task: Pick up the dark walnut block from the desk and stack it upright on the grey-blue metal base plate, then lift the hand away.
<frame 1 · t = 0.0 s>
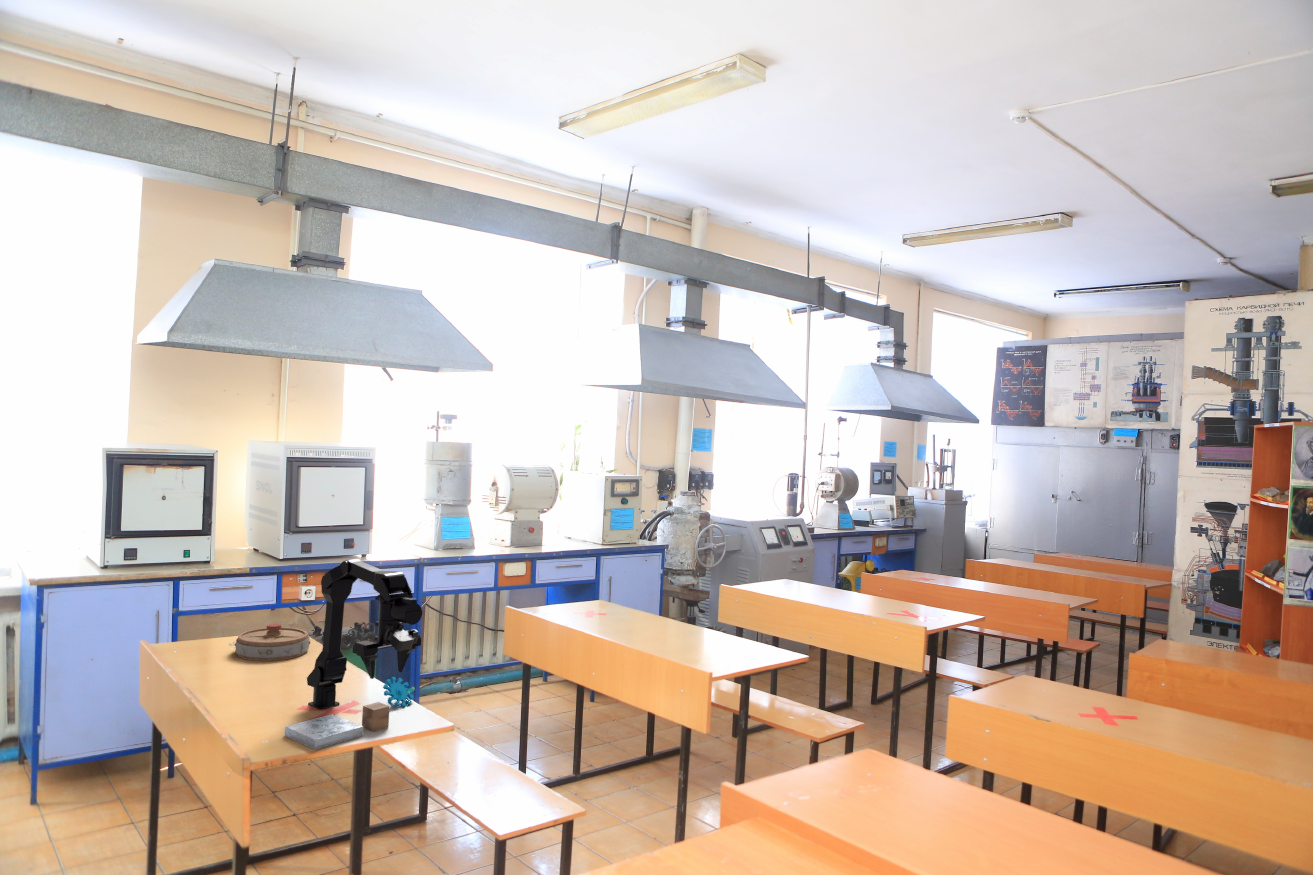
hand: (386, 675, 231), 15 cm above the table, fingers open, 9 cm apart
blue spiky blob: (398, 704, 252), on the table
base plate: (323, 735, 223), on the table
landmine: (272, 653, 301), on the table
walnut block: (375, 727, 232), on the table
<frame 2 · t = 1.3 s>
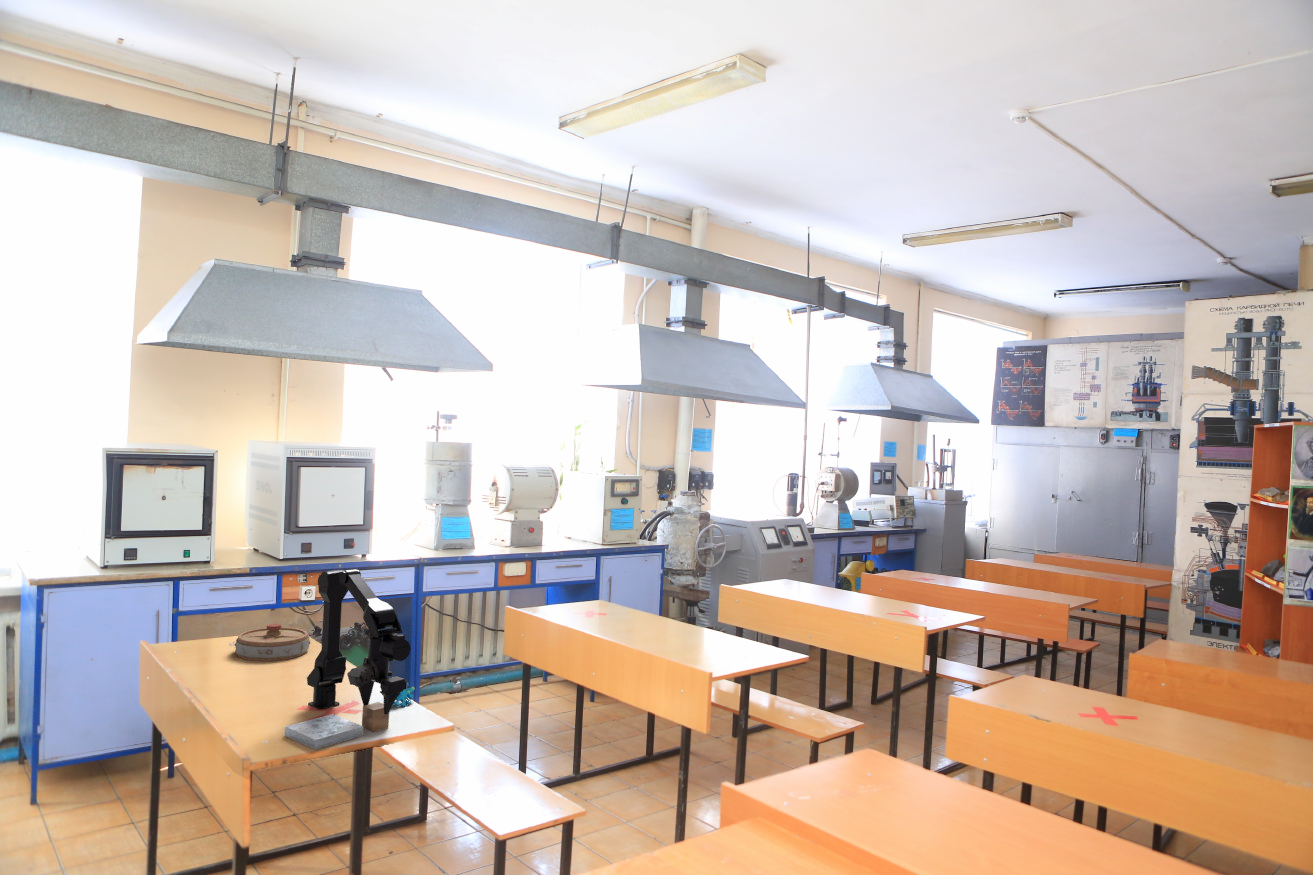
hand: (375, 710, 232), 5 cm above the table, fingers open, 9 cm apart
nothing on the table moved.
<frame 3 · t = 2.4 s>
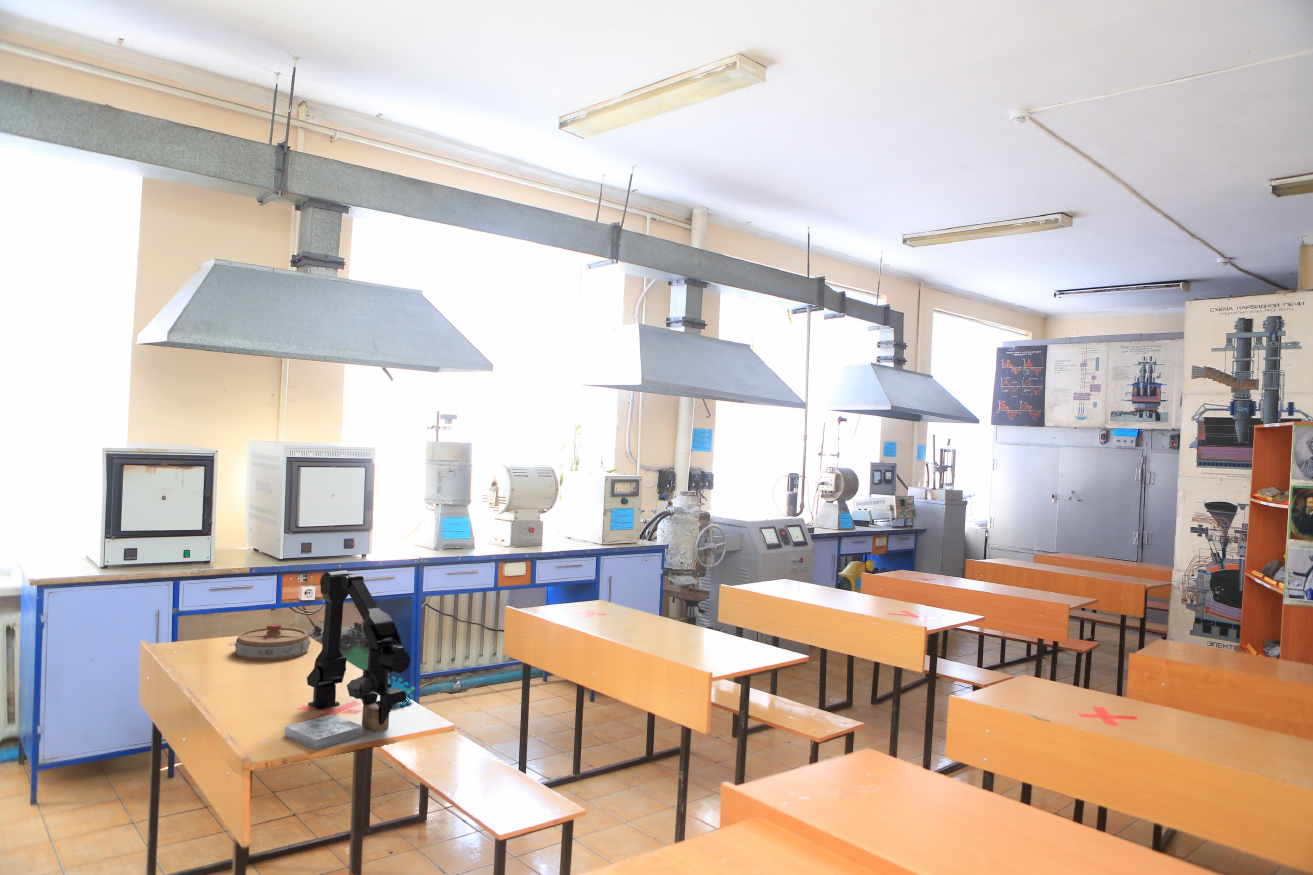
hand: (375, 721, 232), 2 cm above the table, fingers closed on walnut block, 5 cm apart
walnut block: (375, 727, 232), on the table, touching gripper
everything else where it was.
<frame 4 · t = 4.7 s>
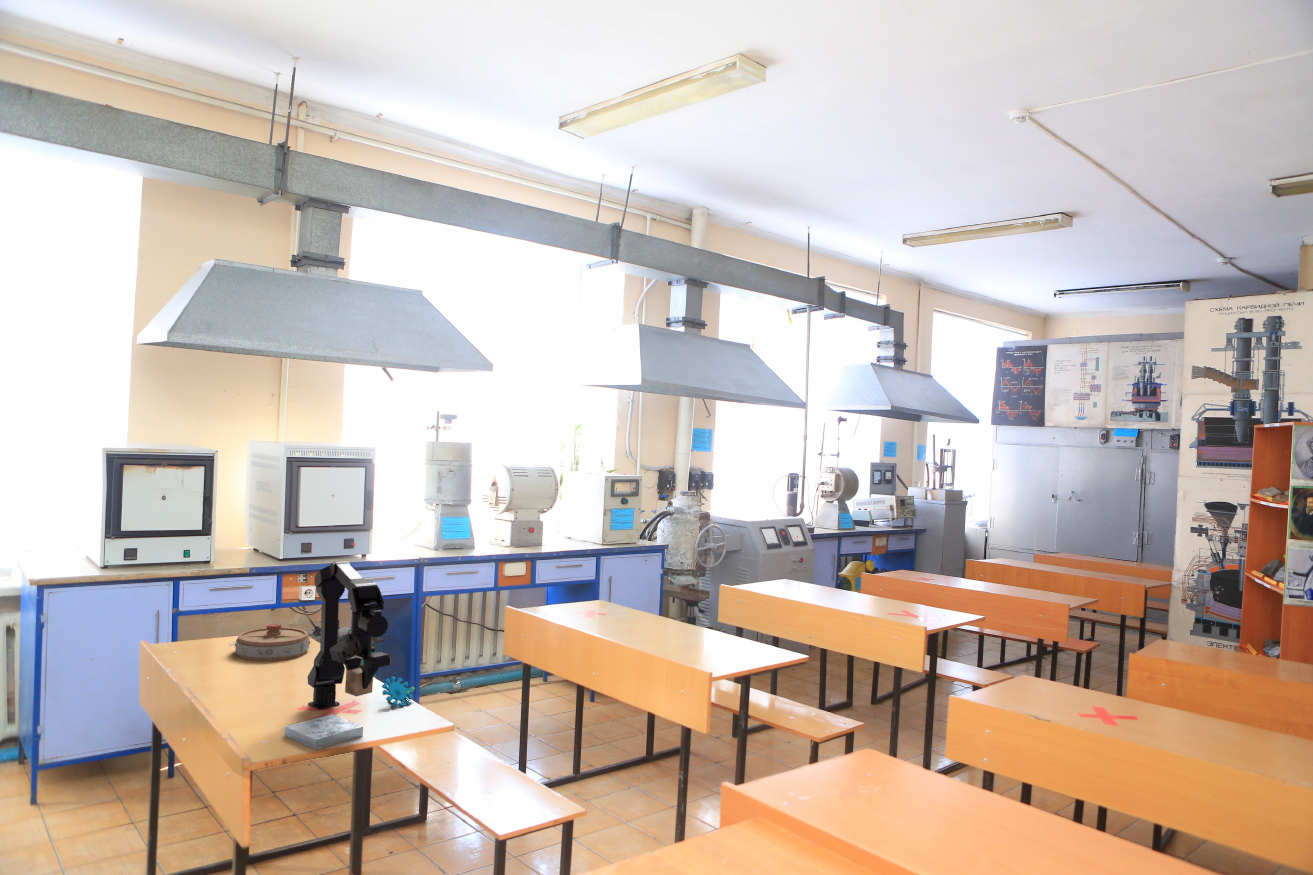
hand: (358, 686, 229), 12 cm above the table, fingers closed on walnut block, 5 cm apart
walnut block: (358, 692, 229), point 10 cm above the table, touching gripper
everything else where it was.
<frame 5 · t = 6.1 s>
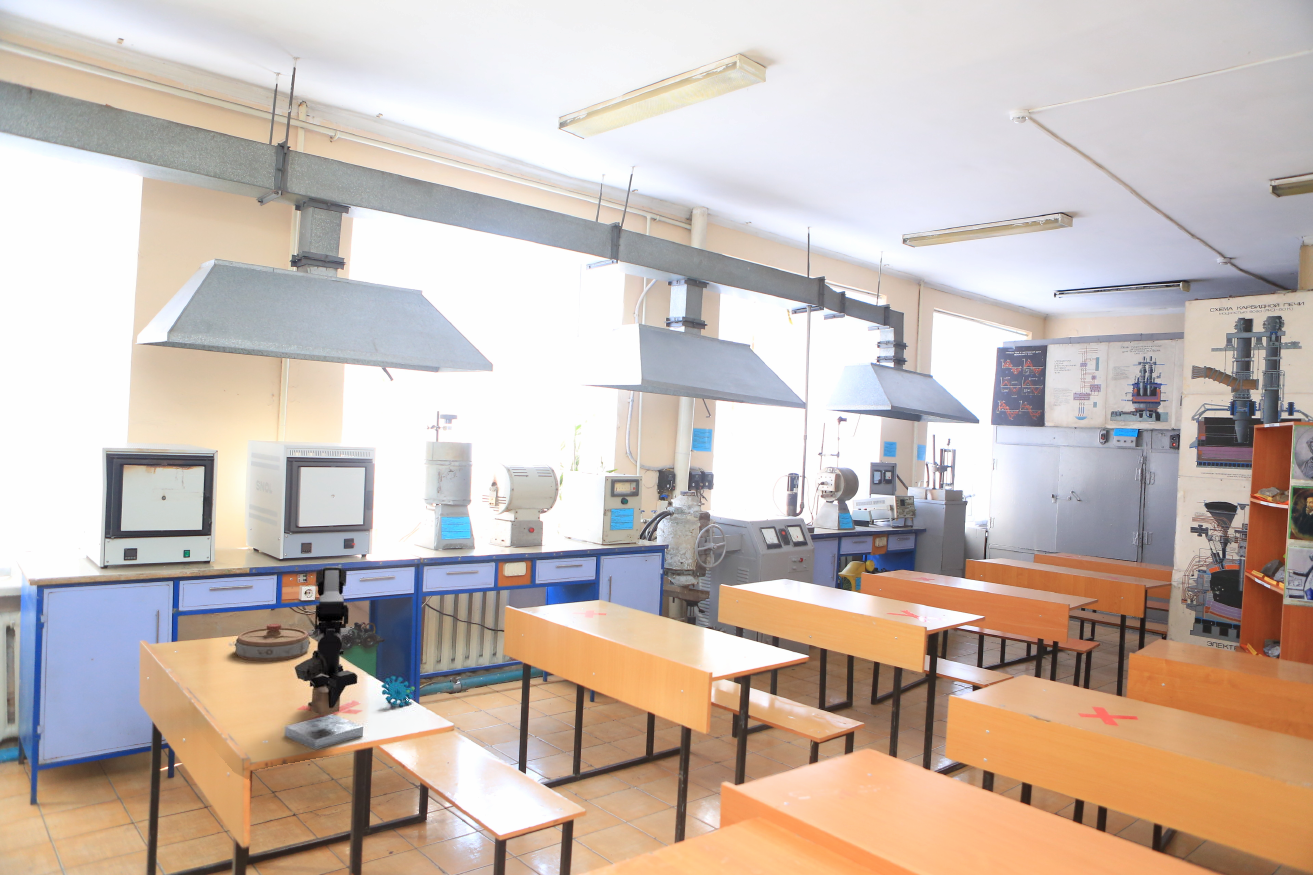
hand: (325, 705, 224), 8 cm above the table, fingers closed on walnut block, 5 cm apart
walnut block: (325, 711, 224), point 6 cm above the table, touching gripper
everything else where it was.
when the fingers open (5 cm above the table, at t = 7.0 s): walnut block stays where it is, resting on base plate.
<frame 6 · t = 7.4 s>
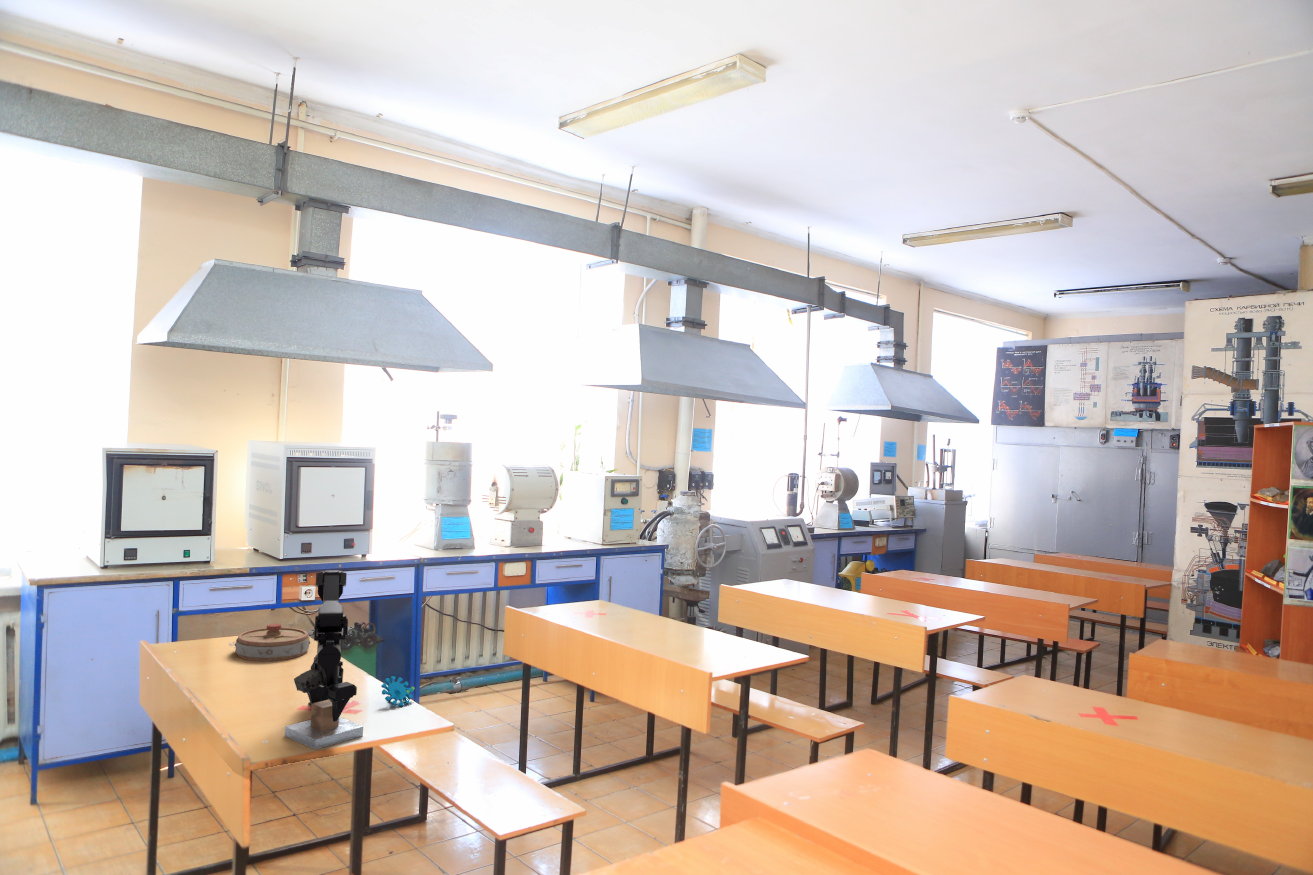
hand: (325, 716, 223), 5 cm above the table, fingers open, 9 cm apart
walnut block: (324, 726, 223), point 2 cm above the table, touching base plate
everything else where it was.
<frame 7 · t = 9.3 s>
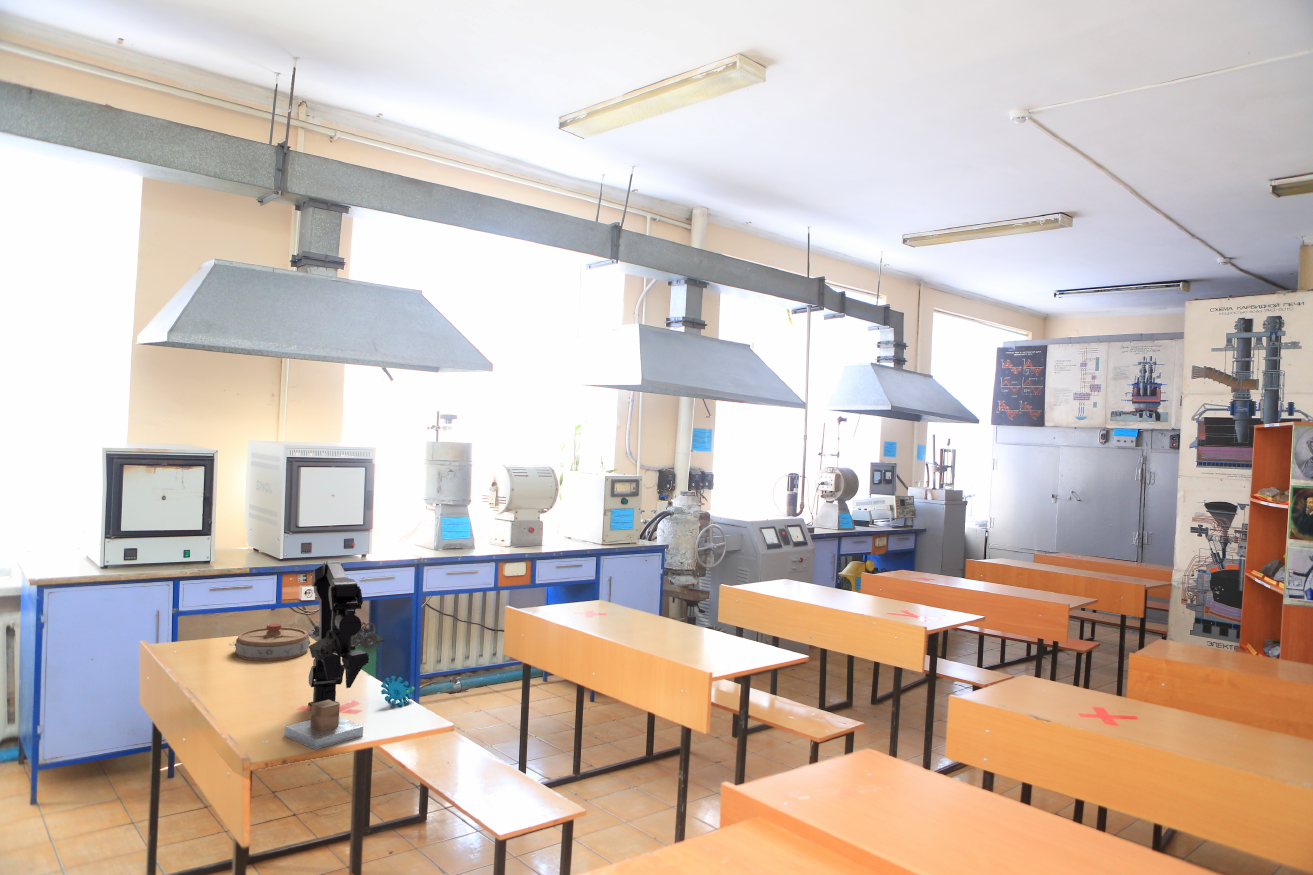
hand: (338, 683, 231), 12 cm above the table, fingers open, 9 cm apart
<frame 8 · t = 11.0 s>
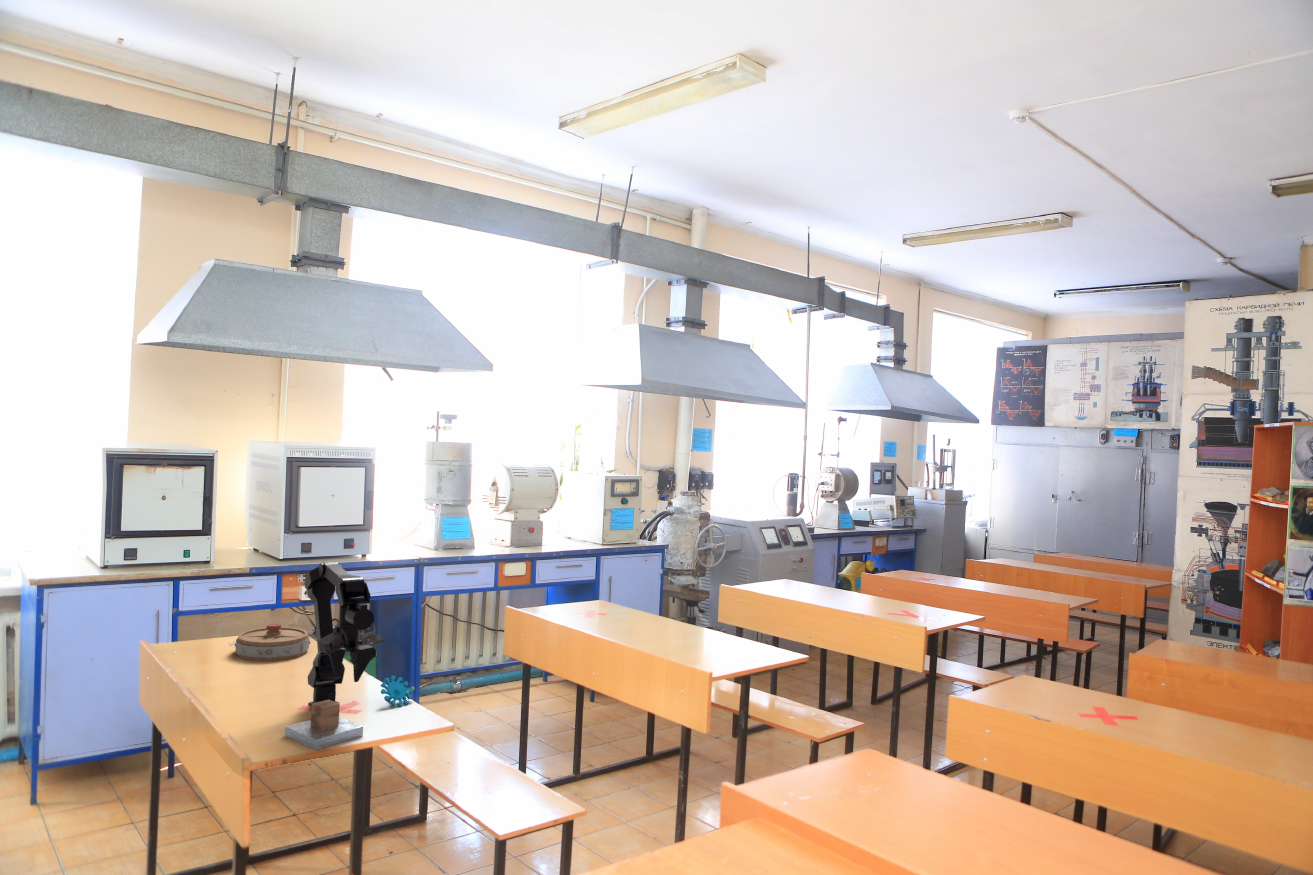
hand: (346, 678, 235), 12 cm above the table, fingers open, 9 cm apart
at the end: walnut block inside the target area on the base plate (0.0 cm from its centre), point 2.5 cm above the base plate's base; walnut block tilted 0°; the gripper is holding nothing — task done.
